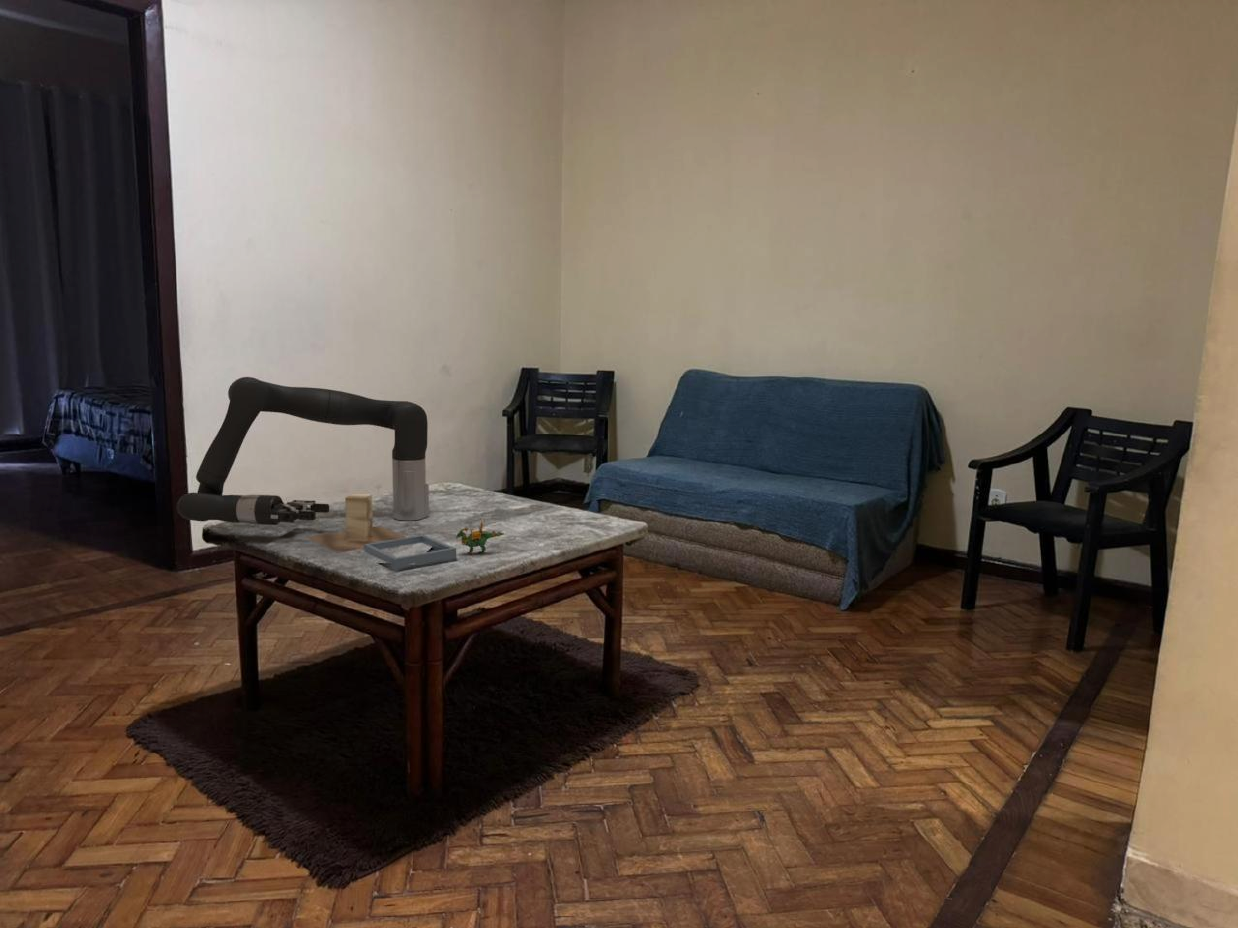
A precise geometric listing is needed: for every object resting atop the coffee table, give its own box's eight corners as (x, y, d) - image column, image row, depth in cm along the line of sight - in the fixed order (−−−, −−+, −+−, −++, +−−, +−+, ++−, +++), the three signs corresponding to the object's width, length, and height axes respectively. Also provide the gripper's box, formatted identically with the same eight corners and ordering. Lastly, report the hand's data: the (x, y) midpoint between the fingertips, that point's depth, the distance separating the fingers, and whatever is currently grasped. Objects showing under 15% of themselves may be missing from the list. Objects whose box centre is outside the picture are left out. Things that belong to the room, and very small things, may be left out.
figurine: (455, 553, 216) (455, 521, 215) (503, 550, 220) (503, 518, 218) (456, 556, 213) (456, 523, 212) (505, 553, 217) (505, 521, 215)
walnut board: (380, 531, 235) (380, 525, 235) (412, 545, 222) (412, 539, 221) (307, 542, 222) (307, 536, 222) (336, 558, 209) (336, 552, 208)
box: (423, 546, 222) (423, 534, 221) (456, 560, 210) (456, 548, 209) (364, 556, 211) (363, 544, 211) (395, 572, 199) (395, 559, 199)
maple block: (353, 535, 224) (352, 493, 222) (372, 536, 224) (371, 494, 222) (346, 540, 219) (345, 497, 217) (365, 541, 219) (364, 498, 217)
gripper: (245, 501, 215) (309, 503, 213) (272, 489, 229) (332, 491, 227) (247, 530, 216) (311, 533, 215) (273, 517, 230) (333, 519, 229)
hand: (322, 512), depth 221 cm, fingers open, 8 cm apart
